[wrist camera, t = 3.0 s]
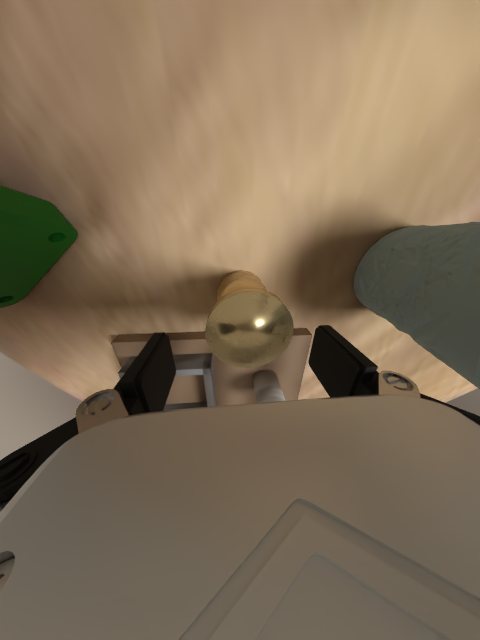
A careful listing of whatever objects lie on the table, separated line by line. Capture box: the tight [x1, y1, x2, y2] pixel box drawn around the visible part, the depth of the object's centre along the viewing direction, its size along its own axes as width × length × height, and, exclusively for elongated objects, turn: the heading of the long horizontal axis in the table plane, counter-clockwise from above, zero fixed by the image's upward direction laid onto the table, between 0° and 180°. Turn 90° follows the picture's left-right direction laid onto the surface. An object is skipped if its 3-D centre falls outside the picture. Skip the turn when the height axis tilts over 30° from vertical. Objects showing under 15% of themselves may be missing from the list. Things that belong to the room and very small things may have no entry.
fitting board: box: [111, 328, 312, 411], centre depth 20 cm, size 22×13×6 cm, turn 90°
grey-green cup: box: [353, 222, 480, 389], centre depth 13 cm, size 10×10×12 cm
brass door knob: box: [205, 271, 293, 368], centre depth 15 cm, size 6×6×8 cm
